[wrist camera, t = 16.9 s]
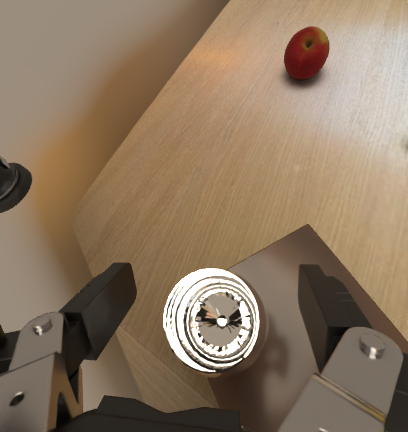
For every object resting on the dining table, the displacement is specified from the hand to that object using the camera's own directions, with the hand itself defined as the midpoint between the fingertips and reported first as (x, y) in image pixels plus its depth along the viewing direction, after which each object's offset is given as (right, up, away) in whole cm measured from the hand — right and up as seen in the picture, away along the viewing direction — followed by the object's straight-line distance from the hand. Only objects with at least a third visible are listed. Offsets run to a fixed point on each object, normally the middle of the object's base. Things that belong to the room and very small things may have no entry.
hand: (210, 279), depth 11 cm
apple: (+19, +31, +35) cm, 50 cm away
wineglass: (+2, -7, +11) cm, 13 cm away
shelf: (+8, -10, +17) cm, 22 cm away
